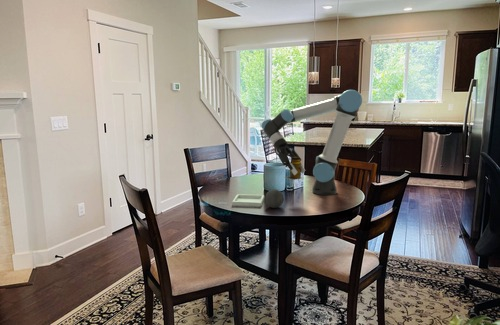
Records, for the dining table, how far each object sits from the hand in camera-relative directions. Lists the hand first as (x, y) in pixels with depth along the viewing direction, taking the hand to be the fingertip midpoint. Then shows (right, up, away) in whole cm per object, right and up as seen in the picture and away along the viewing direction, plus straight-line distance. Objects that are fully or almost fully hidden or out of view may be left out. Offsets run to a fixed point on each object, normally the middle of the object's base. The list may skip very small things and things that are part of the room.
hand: (299, 172), depth 197 cm
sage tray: (-29, -17, +4) cm, 34 cm away
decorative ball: (-15, -19, -6) cm, 25 cm away
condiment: (-3, -3, +3) cm, 5 cm away
